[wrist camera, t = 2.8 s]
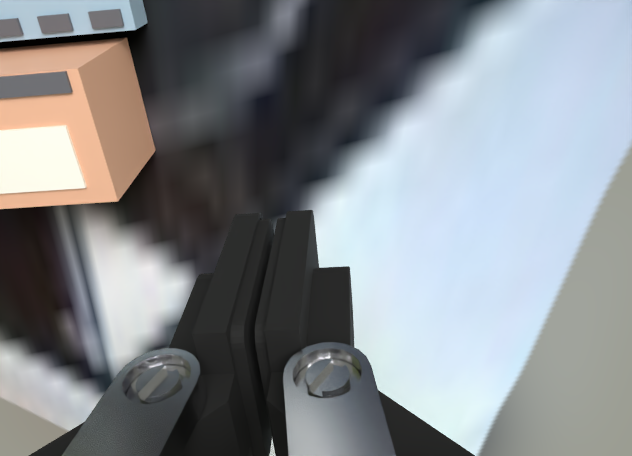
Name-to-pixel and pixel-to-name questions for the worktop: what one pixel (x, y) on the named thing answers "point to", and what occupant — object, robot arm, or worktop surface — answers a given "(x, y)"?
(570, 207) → the worktop surface
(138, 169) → the cardboard box
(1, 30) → the blue microchip card
